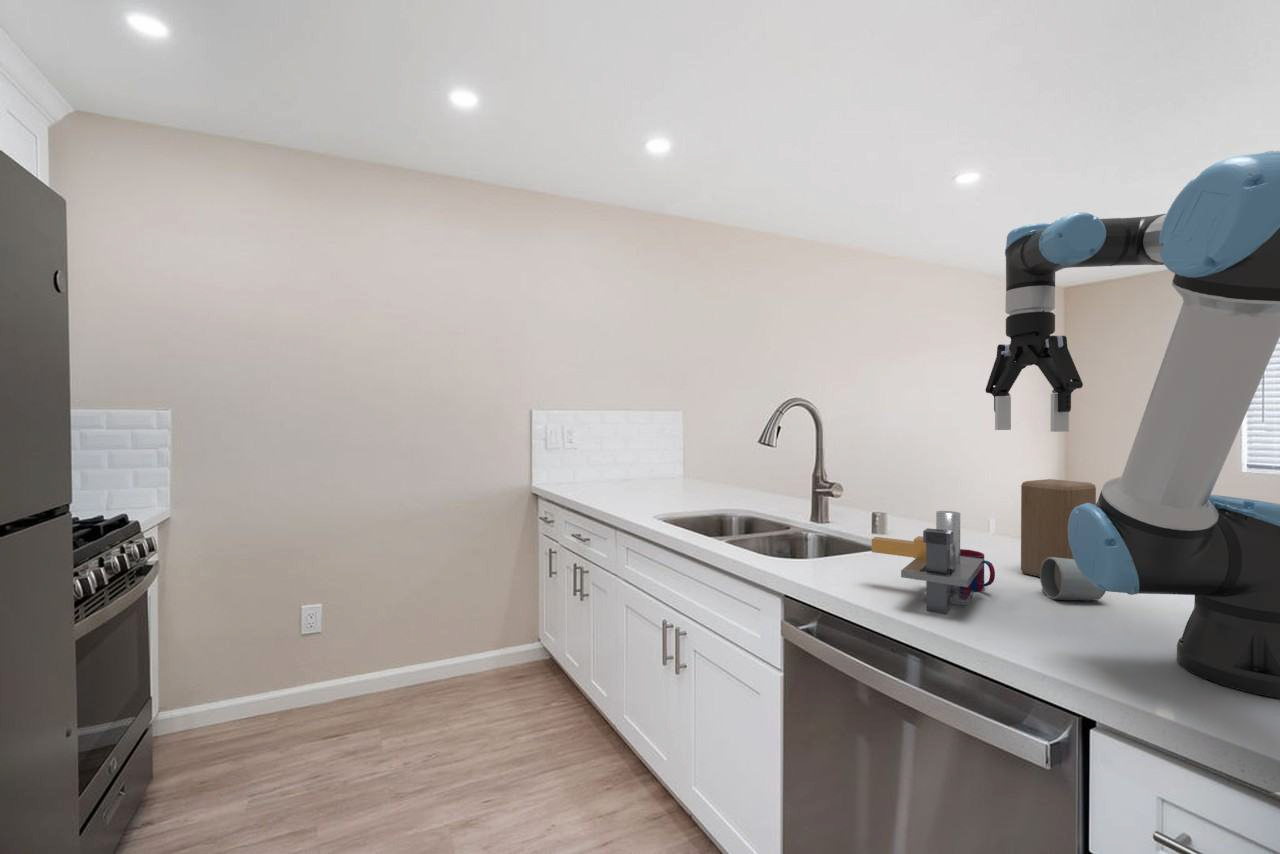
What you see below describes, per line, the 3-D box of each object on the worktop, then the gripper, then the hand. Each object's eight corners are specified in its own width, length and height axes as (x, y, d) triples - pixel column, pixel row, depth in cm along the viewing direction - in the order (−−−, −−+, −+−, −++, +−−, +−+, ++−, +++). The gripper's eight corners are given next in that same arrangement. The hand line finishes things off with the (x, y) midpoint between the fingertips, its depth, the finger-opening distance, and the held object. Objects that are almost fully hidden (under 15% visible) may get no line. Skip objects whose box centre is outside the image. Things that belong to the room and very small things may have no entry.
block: (1018, 573, 129) (1019, 480, 128) (1047, 568, 133) (1047, 478, 132) (1068, 585, 120) (1069, 485, 119) (1097, 579, 124) (1098, 483, 123)
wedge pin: (953, 610, 105) (953, 530, 105) (949, 615, 102) (949, 533, 102) (927, 605, 108) (927, 528, 107) (923, 610, 105) (923, 531, 105)
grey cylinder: (1110, 606, 107) (1110, 563, 107) (1061, 604, 108) (1061, 562, 108) (1074, 589, 117) (1073, 550, 117) (1029, 588, 118) (1029, 549, 118)
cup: (967, 581, 123) (967, 548, 123) (1005, 595, 113) (1005, 559, 113) (938, 582, 122) (938, 549, 122) (974, 597, 112) (974, 561, 112)
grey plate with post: (880, 579, 124) (880, 503, 124) (983, 595, 113) (984, 511, 113) (853, 601, 110) (853, 514, 110) (967, 622, 99) (967, 525, 99)
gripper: (1109, 300, 96) (1109, 432, 97) (1000, 324, 121) (1000, 429, 122) (1067, 300, 96) (1066, 432, 96) (965, 324, 120) (965, 429, 121)
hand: (1029, 430), depth 109 cm, fingers open, 13 cm apart
